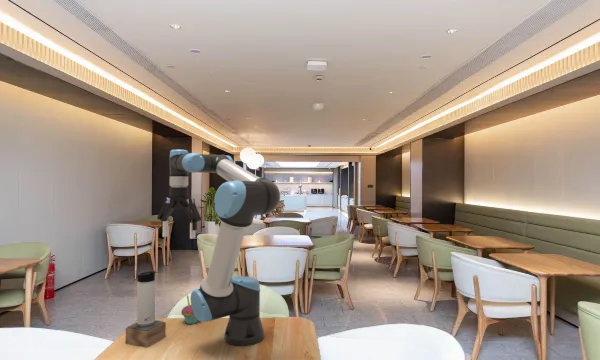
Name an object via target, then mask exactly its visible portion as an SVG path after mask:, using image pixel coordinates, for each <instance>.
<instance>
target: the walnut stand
mask: <svg viewBox="0 0 600 360" xmlns="http://www.w3.org/2000/svg"><path fill="white" fill-rule="evenodd" d="M166 324H167V323H166V322H165V321H163V320H157V319H155V323H154V324H153V325H152V326H149V327H139V326H138V325H137V322H134V323H133V324H131V325H129V326H127V327H125V344H127V345H133V346H137V347H144V348H149V347H151V346H152V345H154V344H156V343H158V342H160V341H161V340H163V339H165V338H166V333H167V332H166V329H167V328H166V327H167V325H166Z"/></svg>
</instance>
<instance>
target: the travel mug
mask: <svg viewBox="0 0 600 360" xmlns="http://www.w3.org/2000/svg"><path fill="white" fill-rule="evenodd" d="M155 274H156V271H154V270H152V271H144V272H141V273H139V274H137V275H136V276H137V281H136V282H137V284H136V293H137V294H136V296H137V297H136V299H137V300H136V308H137V309H136V311H137V312H136V313H137V314H136V323H137V325H138V326H139V327H149V326H152V325H153V324H154V323H155V320H156V277H155V276H156V275H155Z"/></svg>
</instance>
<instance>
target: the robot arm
mask: <svg viewBox="0 0 600 360" xmlns="http://www.w3.org/2000/svg"><path fill="white" fill-rule="evenodd" d="M168 159H169V186H170V187H169V196H170V197H164V198H163V202H162V205H161V208H160V210H159V213H158V215H157V220H160V221H161V229H162V238H166V237H169V220H168V219H169V218H170V216H171V215H172V213H174V211H175V210H177V209H178V210H182V211H184V213H185V215H186V216H187V217H188V219H189V220H190V221H191V222H189V239H191V240H192V239H195V238H196V231H197V229H198V222H200V221H202V217H201V214H200V213H199V210H198V208H197V205H196V201H195V198H194V197H193V198H188V196H189V187H188V186H189V173H191V174H192V173H200V174H201V173H203V174H204V173H211V174H212V173H213V174H217V175H218V176H220V177H221V178H222V179H224V180H226V181H225V182H223V183H222V184H221V185H220V186H219V187H218V188H217V190H216V192H215V194H214V199H213V200H214V201H213V203H214V210H215V213H216V215H217V218H218V220H219V221H220V225H219V228H218V233H217V237H216V241H215V244H214V248H213V253H212V256H211V260H210V264H209V269H208V272H207V276H205V277H204V278H203V279H202V280H201V282H200V286H199V288H196V289H194V290H192V292H191V294H190V305H191V306H192V310H193V313H194V315H195V317H196V318H197V319H198V322H201V323H205V322H206V323H207V322H212V321H216V320H219V319H222V318H225V317H229V319H228V321H227V325H226V328H225V331H224V341H225V342H226V343H227V344H230V345H234V346H251V345H255V344H258V343H260V342H261V341H263V340H264V338H265V329H264V326H263V322H262V320H261V317H260V313H261V312H260V311H261V309H260V308H261V304H260V303H261V301H260V299H261V297H260V296H261V294H260V292H261V287H260V286H261V285H260V281H259V280H258V279H257V278H255V277H252V276H245V275H244V276H243V275H239V276H238V275H236V276H235V275H234V273H235V269H236V265H237V262H238V258H239V255H240V251H241V247H242V244H243V241H244V236H245V233H246V229H247V228H249V227H251V226H252V224H253V222H254V218H255V216H263V215H267V214H270V213H272V212H273V211H274V210H275V209H277V207H278V206H279V204H280V200H281V193H280V189H279V187H278V185H276V184H275V183H274V182H273V181H272V180H271V179H268V178H267V177H264V176H263V177H262V176H261V177H259V176H257V175H256V174H254V173H252V172H251V171H249V170H247V169H245V168H244V167H242V166H240V165H238V164H236V163H235V162H234V160H233V158H232V156H230V155H225V154H206V153H205V154H202V153H195V152H189V151H188V150H187V149H171V150H170V151H169V158H168Z"/></svg>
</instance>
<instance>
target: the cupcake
mask: <svg viewBox="0 0 600 360" xmlns="http://www.w3.org/2000/svg"><path fill="white" fill-rule="evenodd" d="M186 300H187V305H186V306H184V307H183V308H182V309H181V315H182V316H183V318H184V320H185V323H186V324H189V325H192V324H193V325H194V324H196V323H198V322H199V320H198V319H197V318H196V317H195V315H194V313H193V310H192V306H191V302H190V298H189V295H188V294H186Z"/></svg>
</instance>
